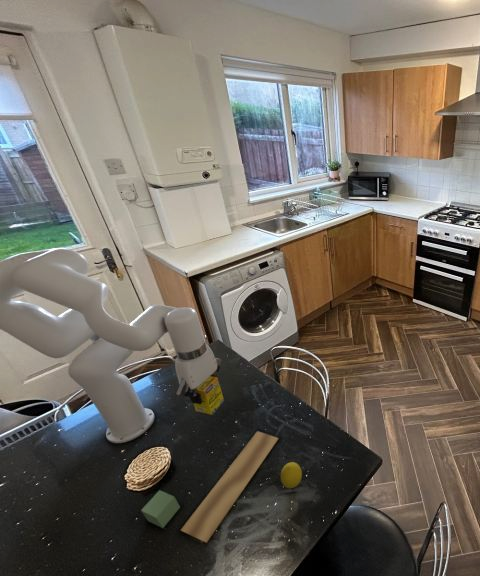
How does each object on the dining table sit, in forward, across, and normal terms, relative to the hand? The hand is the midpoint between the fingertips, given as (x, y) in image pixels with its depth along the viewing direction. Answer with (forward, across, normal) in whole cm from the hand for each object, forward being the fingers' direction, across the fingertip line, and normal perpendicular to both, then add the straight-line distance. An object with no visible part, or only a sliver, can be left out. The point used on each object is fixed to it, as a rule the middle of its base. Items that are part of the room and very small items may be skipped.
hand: (206, 393), depth 96 cm
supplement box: (+6, 0, 0) cm, 6 cm away
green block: (+14, +26, +8) cm, 30 cm away
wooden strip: (+14, +13, +19) cm, 26 cm away
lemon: (+13, +9, +35) cm, 38 cm away
